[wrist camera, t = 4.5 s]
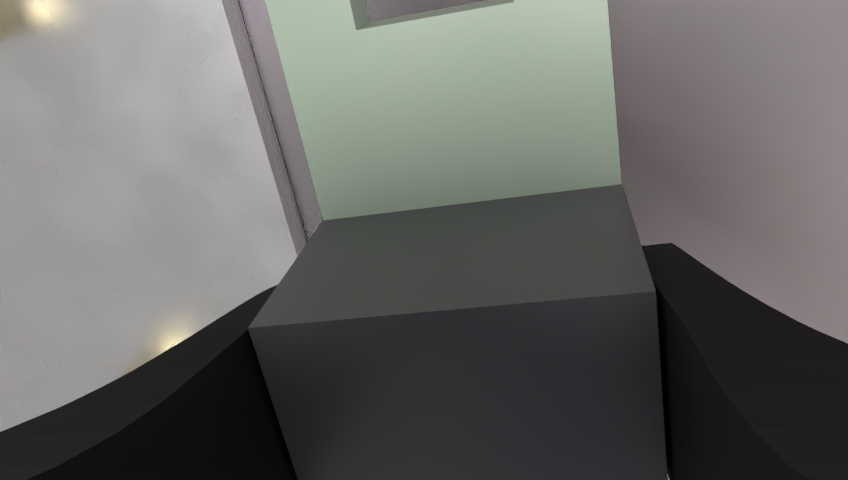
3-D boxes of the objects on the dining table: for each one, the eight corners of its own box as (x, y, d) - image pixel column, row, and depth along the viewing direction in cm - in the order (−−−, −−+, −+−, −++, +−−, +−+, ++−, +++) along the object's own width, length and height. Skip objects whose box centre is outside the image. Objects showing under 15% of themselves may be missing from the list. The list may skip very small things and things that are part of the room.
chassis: (367, 451, 24) (338, 544, 21) (23, 472, 27) (-54, 557, 24) (177, -211, 17) (80, -246, 13) (-275, -83, 20) (-457, -84, 16)
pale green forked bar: (645, 532, 15) (685, 755, 11) (422, 537, 16) (385, 743, 12) (584, -208, 10) (619, -293, 6) (255, -130, 11) (88, -157, 7)
